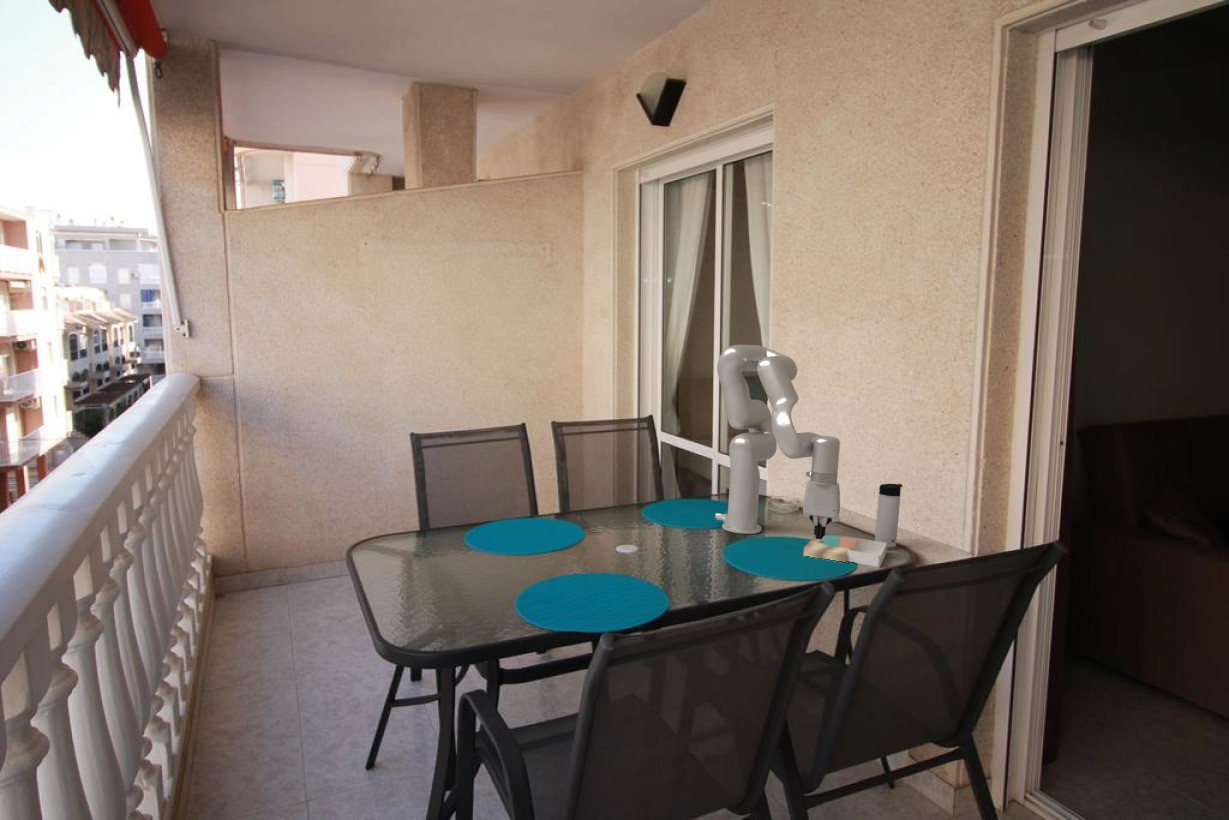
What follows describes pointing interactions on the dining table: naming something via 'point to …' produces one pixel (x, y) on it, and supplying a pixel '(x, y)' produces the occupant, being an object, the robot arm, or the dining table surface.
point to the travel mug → (888, 514)
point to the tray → (868, 553)
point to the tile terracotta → (848, 542)
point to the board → (825, 550)
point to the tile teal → (831, 539)
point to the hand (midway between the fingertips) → (819, 538)
